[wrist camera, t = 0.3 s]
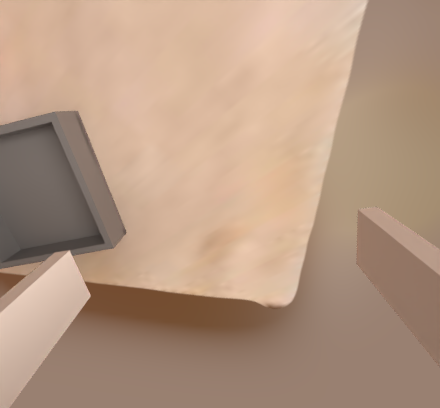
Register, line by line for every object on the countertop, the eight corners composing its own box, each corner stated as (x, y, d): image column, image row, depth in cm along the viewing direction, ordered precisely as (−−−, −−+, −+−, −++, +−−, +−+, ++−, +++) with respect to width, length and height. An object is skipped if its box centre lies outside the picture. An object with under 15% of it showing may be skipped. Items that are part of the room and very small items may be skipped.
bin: (-42, 141, 38) (-80, 146, 33) (77, 111, 36) (54, 111, 31) (23, 252, 45) (-1, 269, 40) (126, 232, 42) (113, 248, 38)
